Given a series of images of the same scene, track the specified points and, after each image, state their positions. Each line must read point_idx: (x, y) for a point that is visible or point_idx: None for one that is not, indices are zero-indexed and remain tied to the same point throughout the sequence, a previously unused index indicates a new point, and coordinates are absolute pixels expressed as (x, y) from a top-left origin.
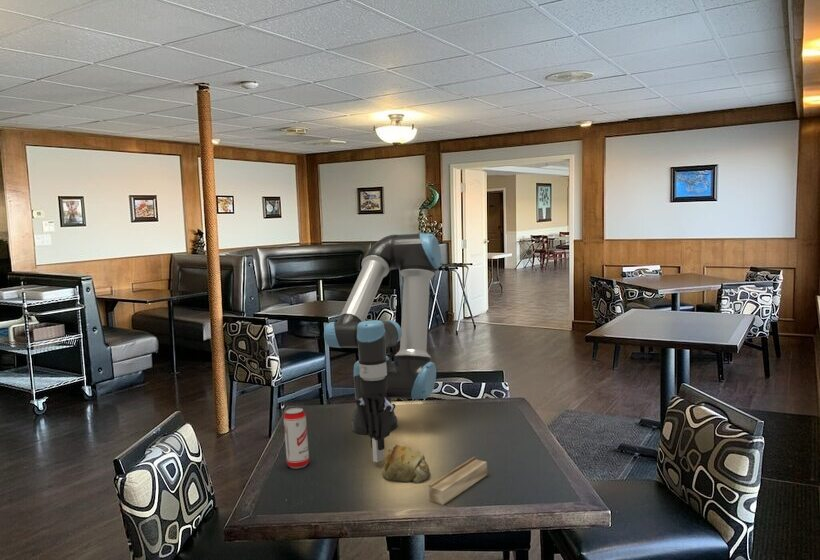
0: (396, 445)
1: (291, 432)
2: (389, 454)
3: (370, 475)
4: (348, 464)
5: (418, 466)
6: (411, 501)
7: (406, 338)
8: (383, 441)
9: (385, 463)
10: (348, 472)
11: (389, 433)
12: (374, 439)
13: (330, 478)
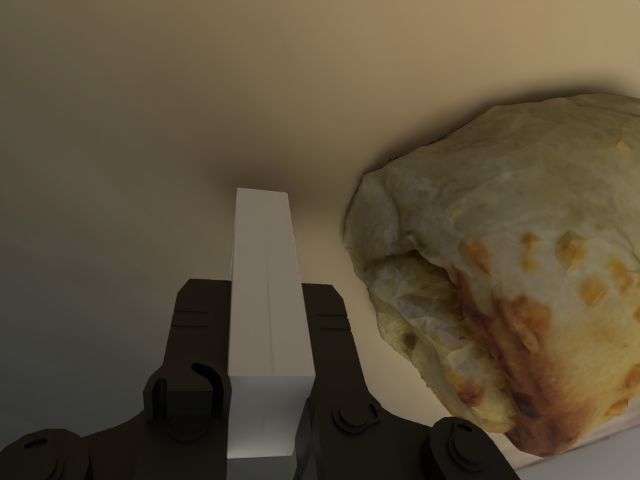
0: (534, 354)
1: None
2: (487, 425)
3: None
4: (21, 275)
5: None
6: None
7: None
8: (355, 368)
9: (449, 411)
10: (144, 349)
11: (501, 467)
12: (264, 451)
13: (119, 419)
